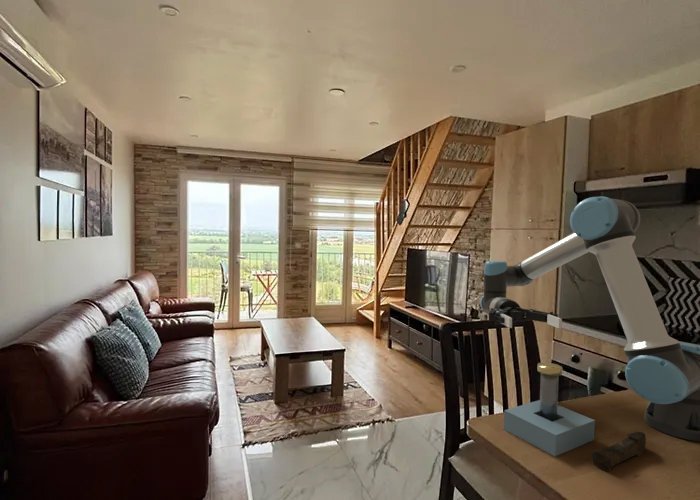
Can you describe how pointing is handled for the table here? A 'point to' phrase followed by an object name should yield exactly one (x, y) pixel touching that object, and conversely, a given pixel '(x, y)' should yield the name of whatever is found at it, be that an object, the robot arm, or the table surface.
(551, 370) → the pin
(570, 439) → the socket block
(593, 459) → the dark brown wooden club
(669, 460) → the table surface
